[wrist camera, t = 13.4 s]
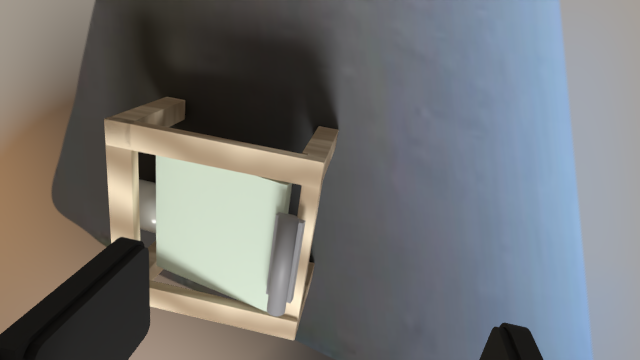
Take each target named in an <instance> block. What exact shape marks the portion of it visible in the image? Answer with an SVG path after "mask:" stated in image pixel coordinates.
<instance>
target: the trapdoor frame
mask: <svg viewBox="0 0 640 360" xmlns="http://www.w3.org/2000/svg"><path fill="white" fill-rule="evenodd" d="M184 119H185V100H181V99H176V98H171V97H165V98H162V99H159V100H156V101H153V102H151V103H148V104H145V105H142V106H139V107H136V108H134V109H131V110H128V111H125V112H122V113H120V114H117V115H114V116H111V117H108V118H105V119H104V123H105V140H106V158H107V175H108V193H109V210H110V228H111V243H113V242H114V241H115V240H116V239H118V238H119V237H125V238H130V239H134V240H139V241H140V214H139V173H138V152H143V153H148V154H153V155H158V156H163V157H167V158H172V159H177V160H182V161H187V162H192V163H197V164H201V165H206V166H211V167H216V168H221V169H226V170H231V171H235V172H240V173H245V174H250V175H255V176H260V177H265V178H269V179H274V180H279V181H284V182H289V183H294V184H299V185H302V188H301V195H300V202H299V208H298V215H297V217H298V218H299V219H302V220H305V221H306V222H305V228H304V234H303V241H302V247H301V253H300V259H299V266H298V272H297V278H296V284H295V290H294V297H293V300H292V302H291V303H286V309H285V313H284V314H283V315H281V316H272V315H270V314H269V313H268V312H266V311H263V310H261V309H258V308H256V307H254V306H251V305H249V304H247V303H244V302H241V301H237V300H233V299H228V298H224V297H220V296H215V295H211V294H207V293H202V292H198V291H194V290H189V289H185V288H181V287H177V286H172V285H168V284H164V283H159V282H155V281H153V280H154V279H155V278H156V277H157V276H158V275H159V273H160V272H161V271H162V270H163V268H161V267H158V266H156V241H155V242H154V243H153V244H152V245H151V246H149V247H148V250H149V283H150V306H151V307H156V308H160V309H164V310H168V311H172V312H177V313H181V314H185V315H189V316H194V317H197V318H202V319H206V320H210V321H214V322H218V323H223V324H227V325H231V326H235V327H240V328H244V329H248V330H252V331H256V332H261V333H265V334H269V335H273V336H277V337H282V338H286V339H290V340H294V339H295V336H296V332H297V329H298V325H299V322H300V318H301V315H302V311H303V308H304V304H305V301H306V297H307V294H308V290H309V286H310V283H311V279H312V275H313V269H314V264H315V263H311V262H309V258H310V252H311V246H312V240H313V235H314V229H315V223H316V217H317V211H318V205H319V200H320V194H321V188H322V182H323V178H324V176H325V173H326V171H327V168H328V166H329V163H330V160H331V158H332V155H333V153H334V150H335V146H336V141H337V135H338V130H337V129H332V128H326V127H321V126H319V127H318V128H317V130H316V131H315V133H314V134H313V136H312V138H311V139H310V141H309V142H308V144H307V146H306V147H305V149H304V150H303V152H302V154H300V153H295V152H290V151H285V150H280V149H275V148H269V147H264V146H259V145H254V144H249V143H244V142H239V141H234V140H229V139H224V138H219V137H214V136H209V135H204V134H199V133H194V132H189V131H184V130H179V129H174V128H169V127H170V126H172V125H174V124H176V123H178V122H180V121H182V120H184Z"/></svg>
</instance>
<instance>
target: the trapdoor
mask: <svg viewBox="0 0 640 360" xmlns="http://www.w3.org/2000/svg"><path fill="white" fill-rule="evenodd" d="M291 189H292V183H289V182H284V181H279V180H274V179H269V178H265V177H260V176H255V175H250V174H245V173H240V172H235V171H231V170H226V169H221V168H216V167H211V166H206V165H201V164H197V163H192V162H187V161H182V160H177V159H172V158H167V157H163V156H158V155H156V266H158V267H161V268H163V269H166V270H168V271H170V272H173V273H175V274H177V275H180V276H182V277H185V278H187V279H189V280H192V281H194V282H197V283H199V284H201V285H204V286H206V287H208V288H211V289H213V290H216V291H218V292H220V293H223V294H225V295H228V296H230V297H232V298H235V299H237V300H239V301H242V302H244V303H247V304H249V305H251V306H254V307H256V308H258V309H261V310H263V311H266V312H268V313H269V314H270V315H272V316H281V315H283V314H284V313H285V309H286V303H291V302H292V300H293V297H294V290H295V284H296V278H297V272H298V266H299V259H300V253H301V247H302V241H303V234H304V228H305V222H306V221H305V220H302V219H299V218H298V217H297V216H295V215H292V214H288V211H289V203H290V196H291Z"/></svg>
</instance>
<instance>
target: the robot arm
mask: <svg viewBox="0 0 640 360" xmlns="http://www.w3.org/2000/svg"><path fill="white" fill-rule="evenodd" d="M149 326H150V283H149V250H148V248H145V247H144V244H143V242H142V241H139V240H134V239H130V238H125V237H119V238H118V239H116V240H115V241H114V242H113V243H111V244H110V245H109V246H108V247H107V248H106V249H104V250H103V251H102V252H100V253H99V254H98V255H97V256H96V257H94V258H93V259H92V260H91V261H89V262H88V263H87V264H86V265H85V266H84V267H82V268H81V269H80V270H78V271H77V272H76V273H75V274H74V275H72V276H71V277H70V278H69V279H67V280H66V281H65V282H64V283H63V284H61V285H60V286H59V287H58V288H56V289H55V290H54V291H53V292H52V293H50V294H49V295H48V296H47V297H45V298H44V299H43V300H42V301H41V302H39V303H38V304H37V305H36V306H34V307H33V308H32V309H31V310H30V311H28V312H27V313H26V314H25V315H24V316H23V317H21V318H20V319H18V320H17V321H16V322H15V323H14V324H12V325H11V326H10V327H9V328H7V329H6V330H5V331H4V332H3V333H1V334H0V360H128V359H129V357H130V356H131V355H132V353H133V352H134V351H135V350H136V348H137V347H138V346H139V344H140V343H141V341H142V340H143V339H144V338H145V336H146V334H147V332H148V330H149ZM480 360H543V358H542V356H541V354H540V351H539V349H538V347H537V345H536V343H535V341H534V338H533V336H532V334H531V332H530V330H529V329H528V328H526V327H522V326H517V325H513V324H508V323H502V324H501V325H500V327H494V328H493V329H492V331H491V333H490V336H489V338H488V340H487V343H486V345H485V348H484V350H483V352H482V355H481V357H480Z"/></svg>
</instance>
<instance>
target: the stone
mask: <svg viewBox="0 0 640 360" xmlns="http://www.w3.org/2000/svg"><path fill="white" fill-rule="evenodd" d="M139 214H140V229H142V230H146V231H150V232H154V233H156V183H154V182H150V181H146V180H141V179H139Z"/></svg>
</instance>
